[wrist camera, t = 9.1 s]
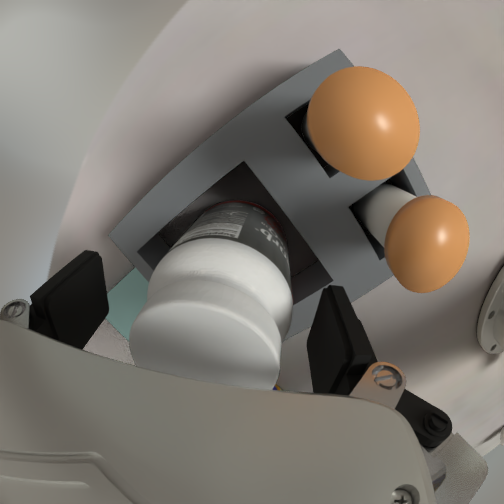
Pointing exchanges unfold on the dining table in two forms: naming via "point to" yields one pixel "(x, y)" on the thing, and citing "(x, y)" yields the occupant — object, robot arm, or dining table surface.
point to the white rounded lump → (502, 437)
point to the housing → (277, 195)
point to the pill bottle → (219, 300)
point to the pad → (127, 301)
